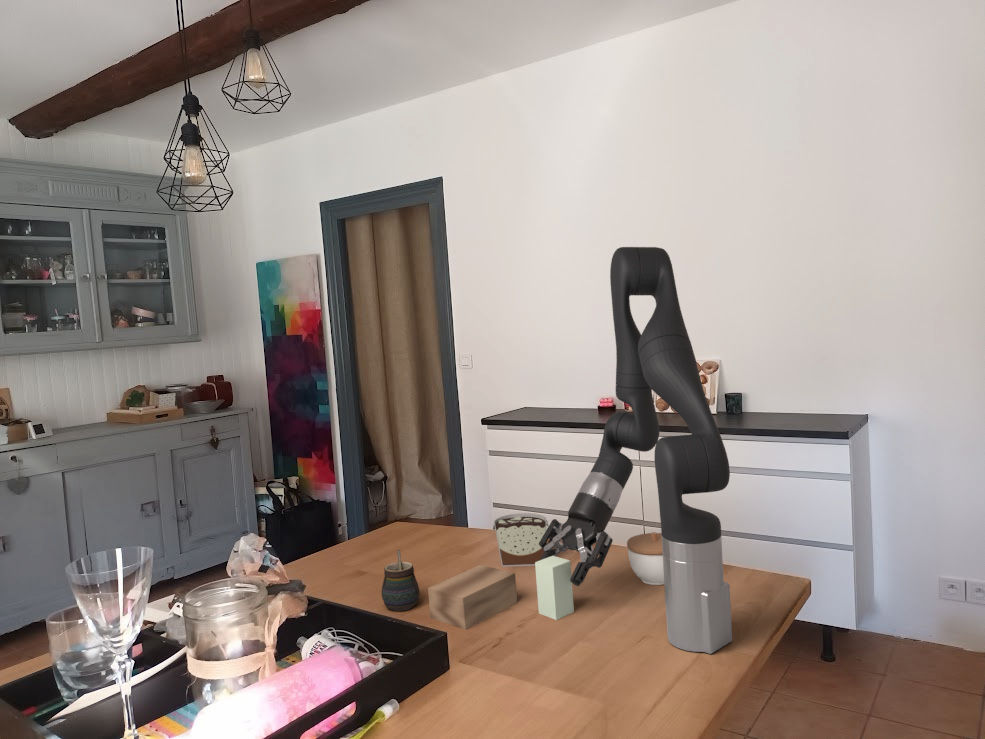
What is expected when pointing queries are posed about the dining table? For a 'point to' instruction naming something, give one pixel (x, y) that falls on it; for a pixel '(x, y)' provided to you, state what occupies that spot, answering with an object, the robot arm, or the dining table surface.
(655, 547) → the lidded jar
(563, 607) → the sage block
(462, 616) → the walnut block
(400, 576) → the mate gourd
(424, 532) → the dining table surface
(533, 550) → the food container
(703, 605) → the robot arm
